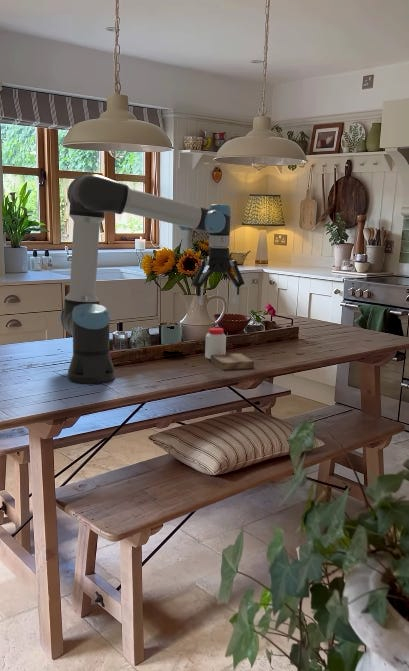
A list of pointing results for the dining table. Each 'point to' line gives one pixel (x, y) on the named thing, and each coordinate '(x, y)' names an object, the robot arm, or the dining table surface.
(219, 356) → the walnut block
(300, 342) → the dining table surface
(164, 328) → the pale green box
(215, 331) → the pill bottle
